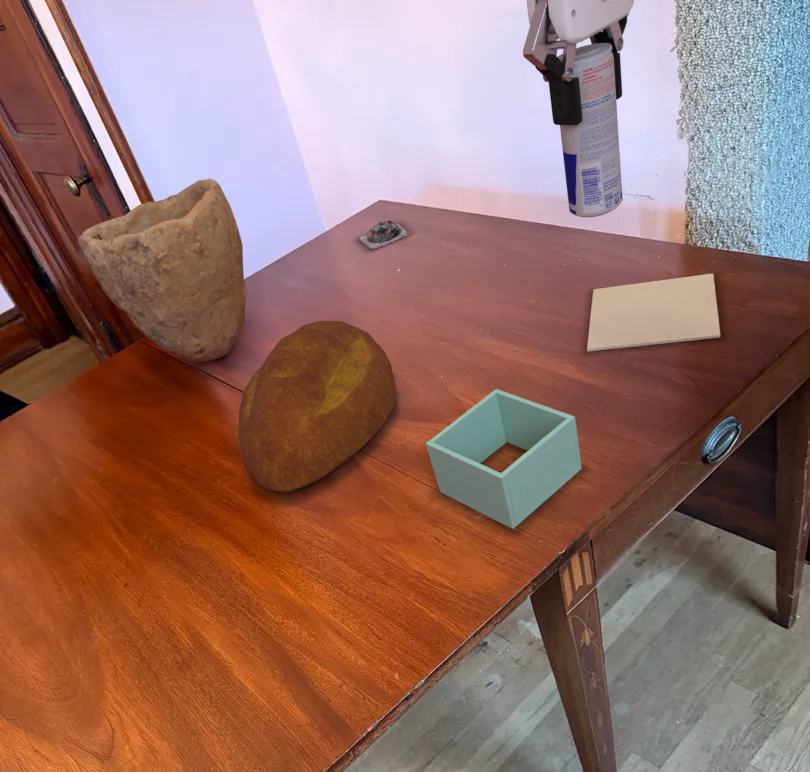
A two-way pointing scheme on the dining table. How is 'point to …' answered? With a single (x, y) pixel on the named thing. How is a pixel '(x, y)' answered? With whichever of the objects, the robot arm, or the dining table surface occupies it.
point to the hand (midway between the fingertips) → (587, 109)
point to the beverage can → (593, 136)
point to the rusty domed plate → (383, 234)
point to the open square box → (524, 479)
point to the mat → (654, 313)
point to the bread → (314, 404)
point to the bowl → (175, 270)
